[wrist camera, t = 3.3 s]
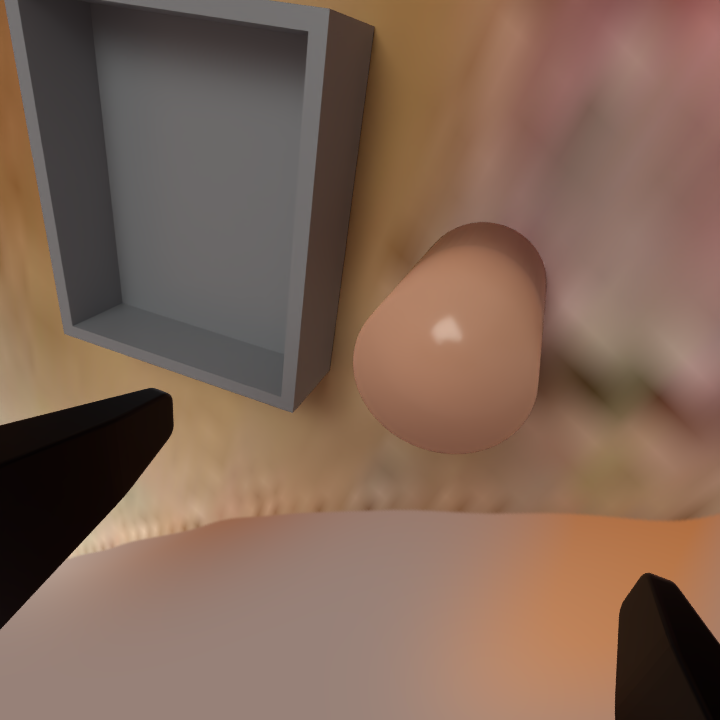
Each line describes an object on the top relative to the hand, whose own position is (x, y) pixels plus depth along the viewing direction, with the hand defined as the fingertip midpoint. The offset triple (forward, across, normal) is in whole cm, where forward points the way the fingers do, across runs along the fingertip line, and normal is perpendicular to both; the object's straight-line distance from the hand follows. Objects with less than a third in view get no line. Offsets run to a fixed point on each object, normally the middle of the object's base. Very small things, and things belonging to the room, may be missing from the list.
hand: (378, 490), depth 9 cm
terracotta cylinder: (+13, 0, 0) cm, 13 cm away
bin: (+13, +12, -1) cm, 18 cm away
